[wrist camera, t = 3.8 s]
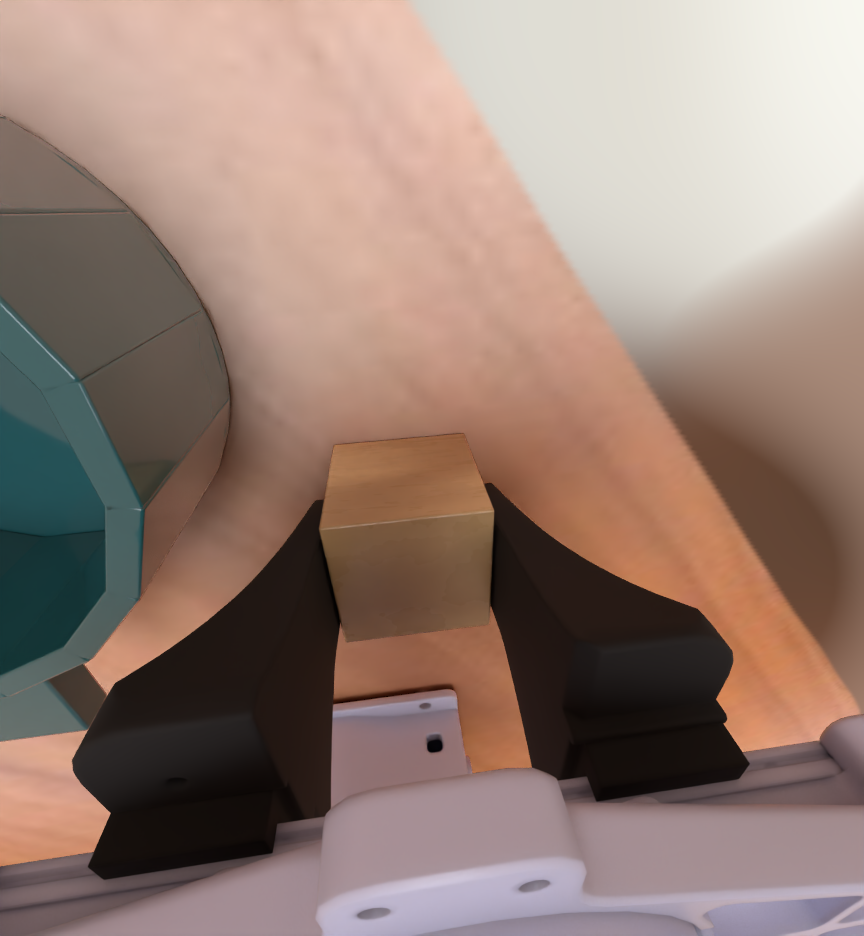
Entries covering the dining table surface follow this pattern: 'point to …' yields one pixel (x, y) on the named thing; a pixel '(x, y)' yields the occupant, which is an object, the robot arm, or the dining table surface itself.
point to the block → (407, 537)
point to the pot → (89, 426)
